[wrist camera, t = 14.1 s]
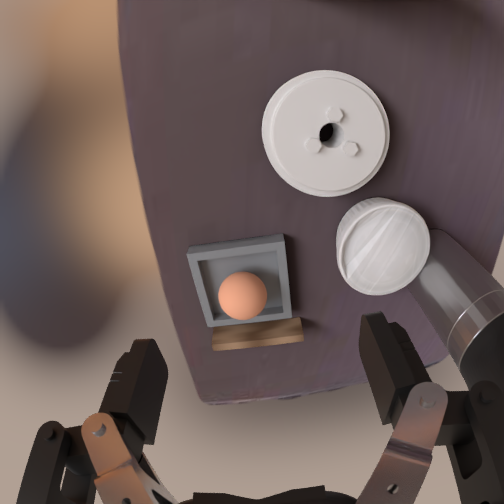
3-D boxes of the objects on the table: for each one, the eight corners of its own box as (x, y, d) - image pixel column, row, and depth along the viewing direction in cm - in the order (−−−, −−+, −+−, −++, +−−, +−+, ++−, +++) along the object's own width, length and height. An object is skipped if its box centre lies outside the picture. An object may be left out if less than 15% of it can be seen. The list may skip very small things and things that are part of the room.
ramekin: (330, 188, 33) (342, 204, 29) (417, 189, 33) (438, 204, 28) (325, 274, 38) (334, 299, 34) (404, 269, 38) (419, 292, 33)
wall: (300, 317, 42) (303, 334, 39) (300, 323, 42) (303, 340, 39) (213, 327, 42) (211, 344, 39) (215, 333, 43) (213, 350, 40)
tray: (282, 233, 36) (284, 241, 34) (290, 308, 41) (291, 317, 39) (189, 246, 36) (186, 254, 35) (209, 317, 42) (207, 327, 40)
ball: (274, 273, 38) (278, 303, 33) (252, 305, 40) (253, 336, 35) (232, 255, 36) (230, 283, 31) (212, 289, 39) (208, 319, 34)
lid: (238, 147, 31) (236, 155, 27) (303, 50, 26) (313, 42, 22) (334, 207, 34) (346, 224, 30) (396, 120, 29) (417, 125, 25)
